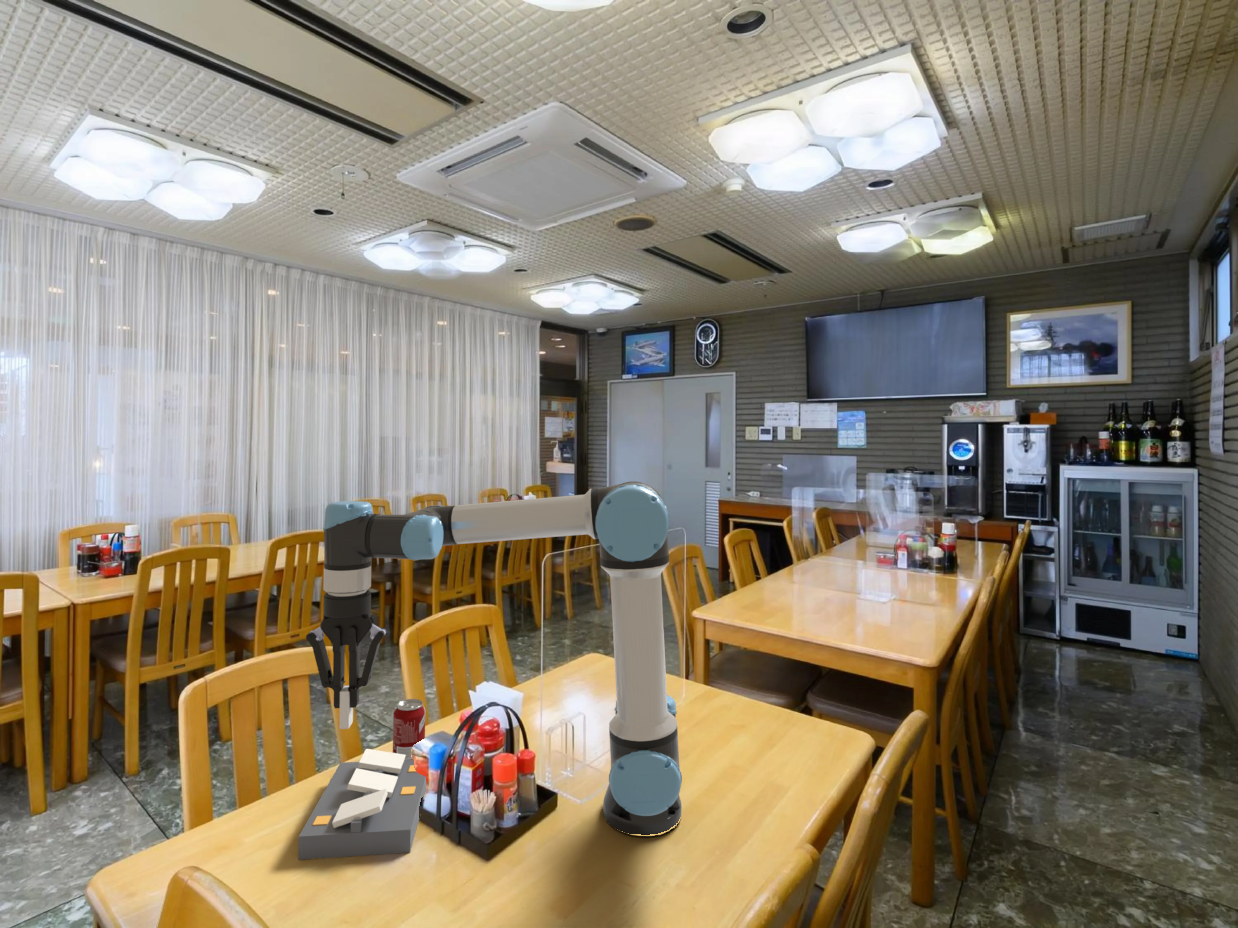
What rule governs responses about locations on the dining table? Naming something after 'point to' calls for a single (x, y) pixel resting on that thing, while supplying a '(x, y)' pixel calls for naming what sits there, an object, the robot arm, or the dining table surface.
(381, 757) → the far switch
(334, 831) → the switch unit
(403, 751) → the soda can
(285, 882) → the dining table surface
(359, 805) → the near switch
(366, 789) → the middle switch
